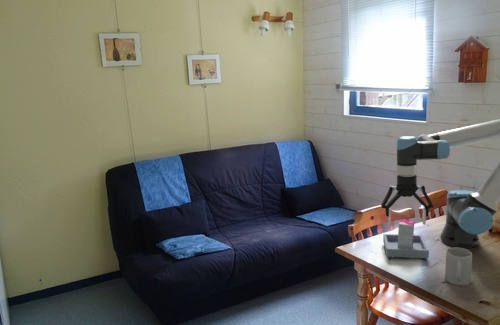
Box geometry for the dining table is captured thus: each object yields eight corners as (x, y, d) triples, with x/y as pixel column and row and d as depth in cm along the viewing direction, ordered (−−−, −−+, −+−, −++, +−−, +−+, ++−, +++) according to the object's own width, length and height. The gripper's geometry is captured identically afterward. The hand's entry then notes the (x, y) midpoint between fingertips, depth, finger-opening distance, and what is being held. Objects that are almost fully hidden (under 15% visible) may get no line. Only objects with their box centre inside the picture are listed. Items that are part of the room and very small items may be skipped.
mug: (444, 272, 159) (446, 246, 157) (470, 276, 156) (471, 248, 153) (444, 288, 149) (446, 259, 146) (471, 292, 145) (473, 262, 143)
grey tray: (421, 245, 184) (421, 235, 183) (428, 261, 169) (428, 250, 168) (383, 244, 188) (383, 234, 187) (386, 259, 172) (387, 249, 171)
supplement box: (412, 251, 173) (412, 225, 171) (397, 249, 176) (397, 223, 174) (413, 246, 178) (414, 220, 176) (399, 244, 181) (399, 219, 179)
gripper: (437, 171, 172) (436, 220, 176) (374, 172, 177) (375, 220, 182) (441, 175, 165) (440, 226, 169) (375, 177, 170) (376, 226, 175)
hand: (406, 223), depth 175 cm, fingers open, 13 cm apart
